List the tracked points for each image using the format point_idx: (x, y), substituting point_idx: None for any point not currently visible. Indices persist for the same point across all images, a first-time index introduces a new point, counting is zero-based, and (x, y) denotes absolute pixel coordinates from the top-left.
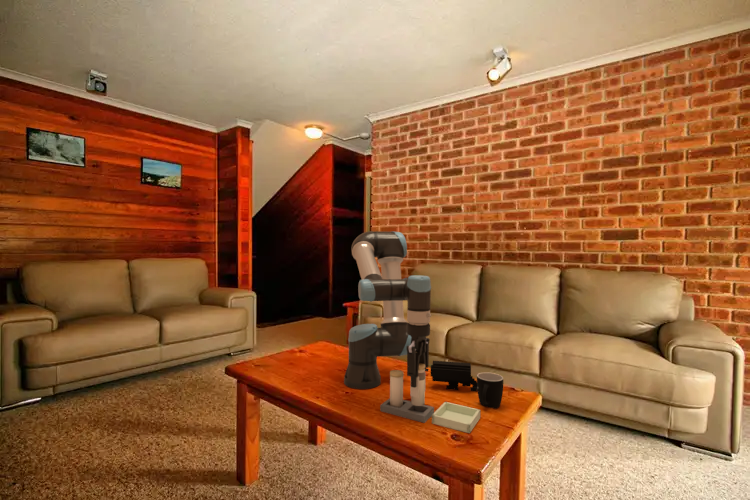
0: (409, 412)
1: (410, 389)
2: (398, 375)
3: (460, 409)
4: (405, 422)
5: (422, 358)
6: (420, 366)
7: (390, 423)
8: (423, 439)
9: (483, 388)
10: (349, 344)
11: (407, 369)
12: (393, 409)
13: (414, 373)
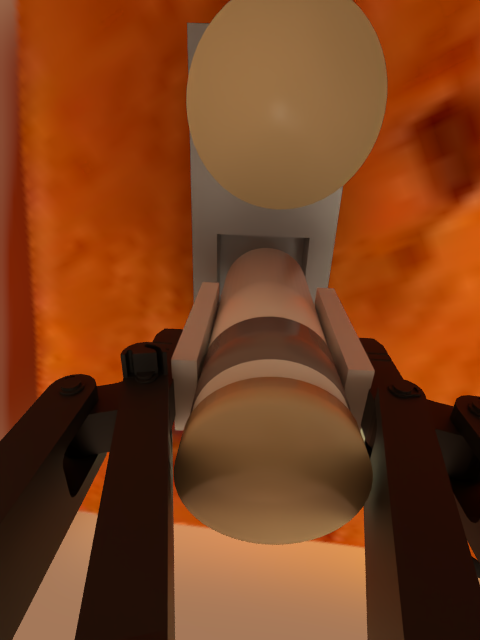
0: (194, 256)
1: (195, 300)
2: (214, 175)
3: (361, 430)
4: (170, 236)
5: (370, 587)
6: (228, 514)
7: (115, 171)
8: (88, 352)
9: (477, 565)
10: None
11: (9, 434)
12: (191, 145)
13: (65, 471)
